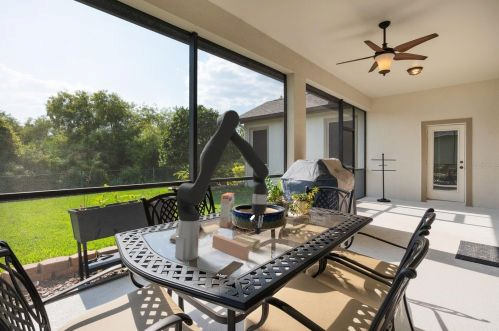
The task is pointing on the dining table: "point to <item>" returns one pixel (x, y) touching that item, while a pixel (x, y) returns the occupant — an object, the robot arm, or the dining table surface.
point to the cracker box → (226, 209)
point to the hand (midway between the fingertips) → (257, 234)
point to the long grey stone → (173, 237)
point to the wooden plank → (229, 268)
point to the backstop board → (231, 247)
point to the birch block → (249, 242)
